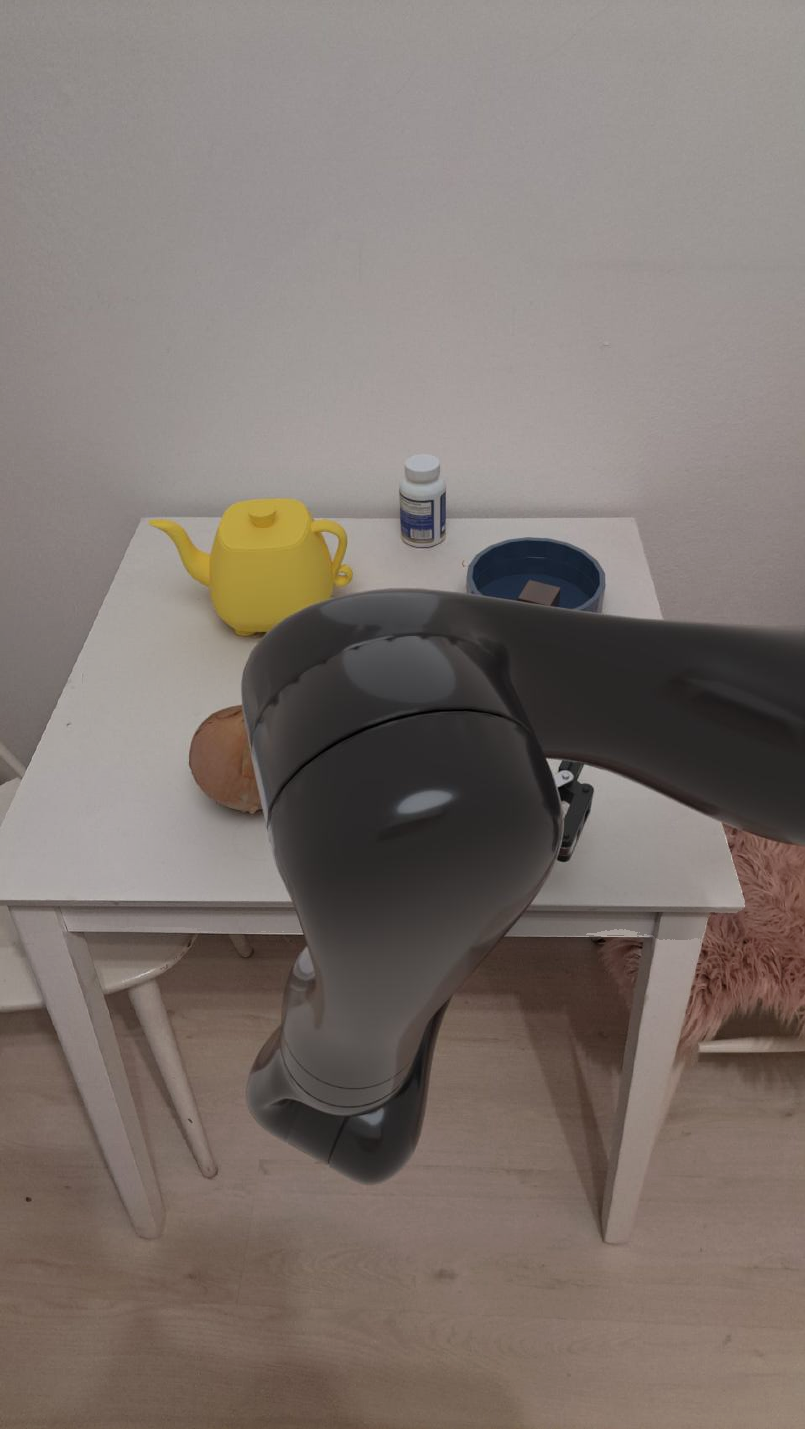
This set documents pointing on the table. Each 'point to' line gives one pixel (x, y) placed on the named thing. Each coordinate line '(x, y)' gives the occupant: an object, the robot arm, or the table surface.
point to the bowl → (538, 572)
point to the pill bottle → (422, 502)
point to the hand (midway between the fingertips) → (528, 732)
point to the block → (540, 594)
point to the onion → (225, 761)
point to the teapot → (264, 562)
